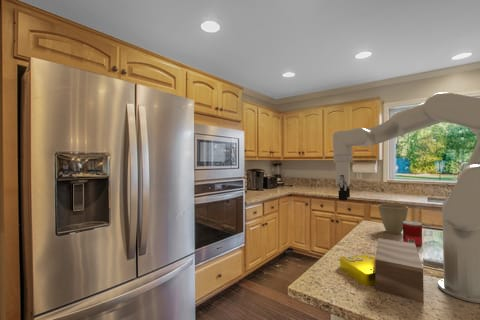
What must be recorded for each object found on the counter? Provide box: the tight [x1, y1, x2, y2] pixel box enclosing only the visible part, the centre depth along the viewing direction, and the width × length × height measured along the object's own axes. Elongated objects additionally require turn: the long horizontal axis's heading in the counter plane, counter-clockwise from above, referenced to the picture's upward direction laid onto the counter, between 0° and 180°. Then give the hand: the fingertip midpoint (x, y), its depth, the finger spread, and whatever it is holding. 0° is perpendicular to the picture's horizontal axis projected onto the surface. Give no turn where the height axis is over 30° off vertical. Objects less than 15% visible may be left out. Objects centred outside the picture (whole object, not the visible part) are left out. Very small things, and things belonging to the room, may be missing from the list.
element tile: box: [339, 254, 376, 286], centre depth 87 cm, size 15×15×5 cm
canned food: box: [402, 220, 423, 248], centre depth 117 cm, size 8×8×11 cm
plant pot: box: [378, 203, 409, 235], centre depth 137 cm, size 15×15×16 cm
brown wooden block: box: [375, 237, 425, 303], centre depth 83 cm, size 25×12×10 cm, turn 147°
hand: (344, 198), depth 99 cm, fingers open, 9 cm apart
